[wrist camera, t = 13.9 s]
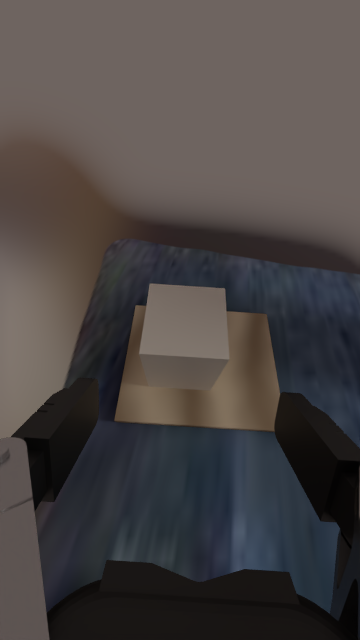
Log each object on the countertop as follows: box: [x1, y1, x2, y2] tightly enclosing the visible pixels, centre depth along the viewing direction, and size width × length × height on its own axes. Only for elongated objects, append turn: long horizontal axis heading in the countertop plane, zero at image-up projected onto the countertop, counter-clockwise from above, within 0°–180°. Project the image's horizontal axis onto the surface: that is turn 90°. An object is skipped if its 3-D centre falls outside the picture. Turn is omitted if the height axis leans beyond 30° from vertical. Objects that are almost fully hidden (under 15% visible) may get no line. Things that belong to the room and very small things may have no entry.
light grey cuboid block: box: [139, 284, 229, 391], centre depth 21 cm, size 6×6×8 cm
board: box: [114, 305, 280, 432], centre depth 25 cm, size 16×13×1 cm
